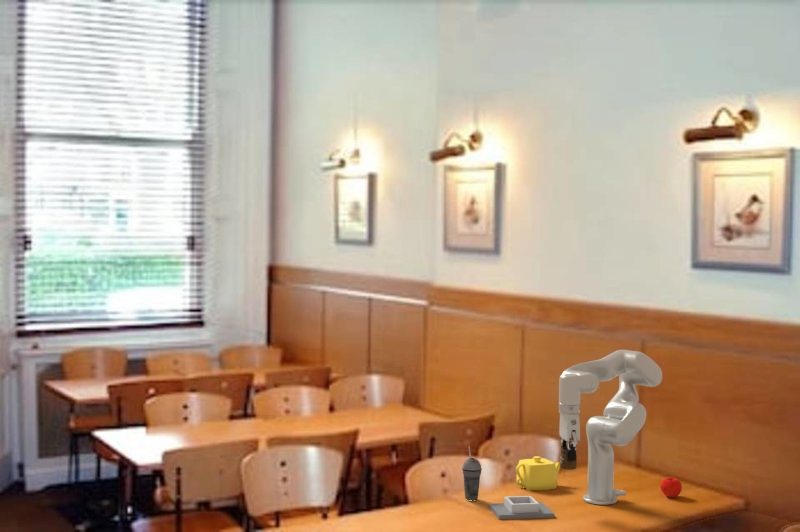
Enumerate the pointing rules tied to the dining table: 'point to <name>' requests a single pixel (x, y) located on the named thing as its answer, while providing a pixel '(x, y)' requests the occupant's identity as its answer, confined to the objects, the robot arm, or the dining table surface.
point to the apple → (671, 487)
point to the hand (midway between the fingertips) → (568, 458)
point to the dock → (521, 508)
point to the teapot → (537, 473)
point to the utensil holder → (563, 459)
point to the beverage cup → (471, 477)
